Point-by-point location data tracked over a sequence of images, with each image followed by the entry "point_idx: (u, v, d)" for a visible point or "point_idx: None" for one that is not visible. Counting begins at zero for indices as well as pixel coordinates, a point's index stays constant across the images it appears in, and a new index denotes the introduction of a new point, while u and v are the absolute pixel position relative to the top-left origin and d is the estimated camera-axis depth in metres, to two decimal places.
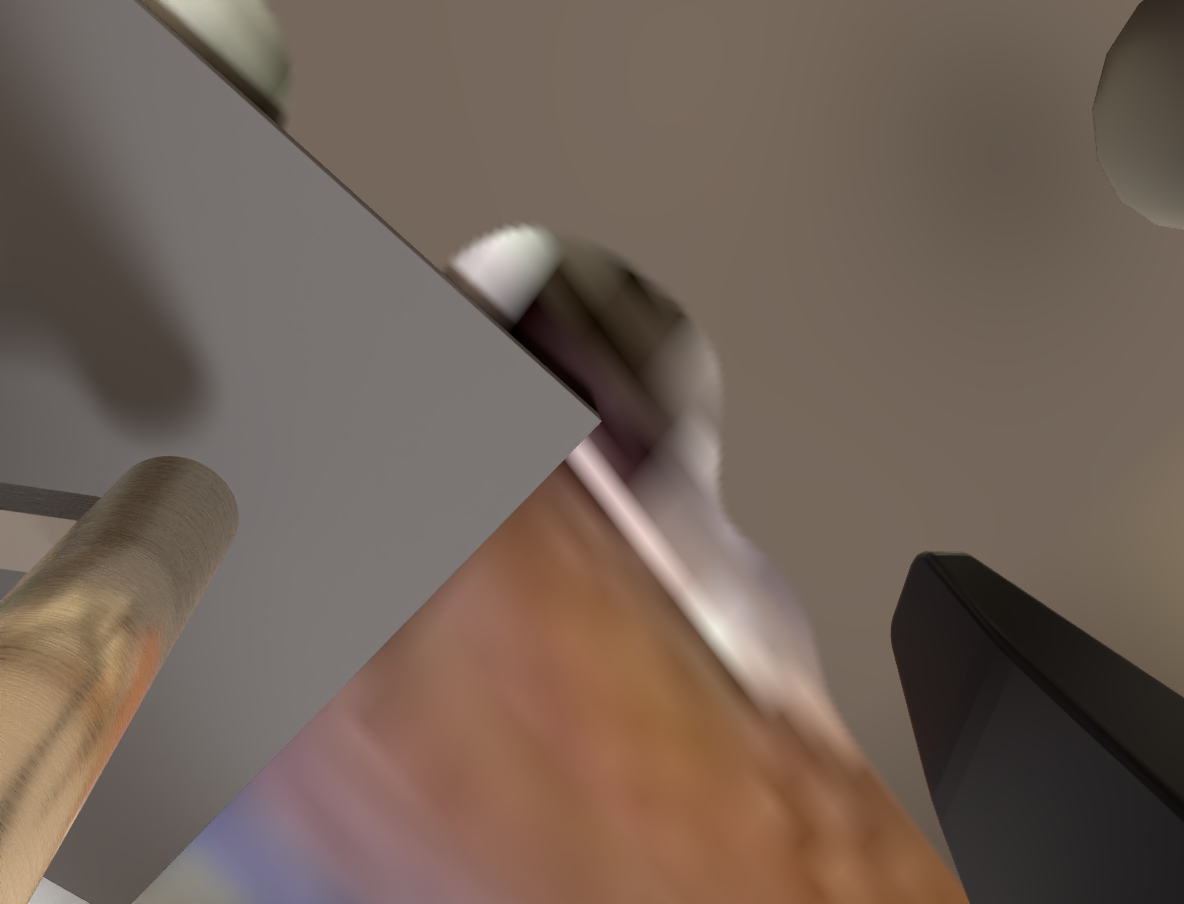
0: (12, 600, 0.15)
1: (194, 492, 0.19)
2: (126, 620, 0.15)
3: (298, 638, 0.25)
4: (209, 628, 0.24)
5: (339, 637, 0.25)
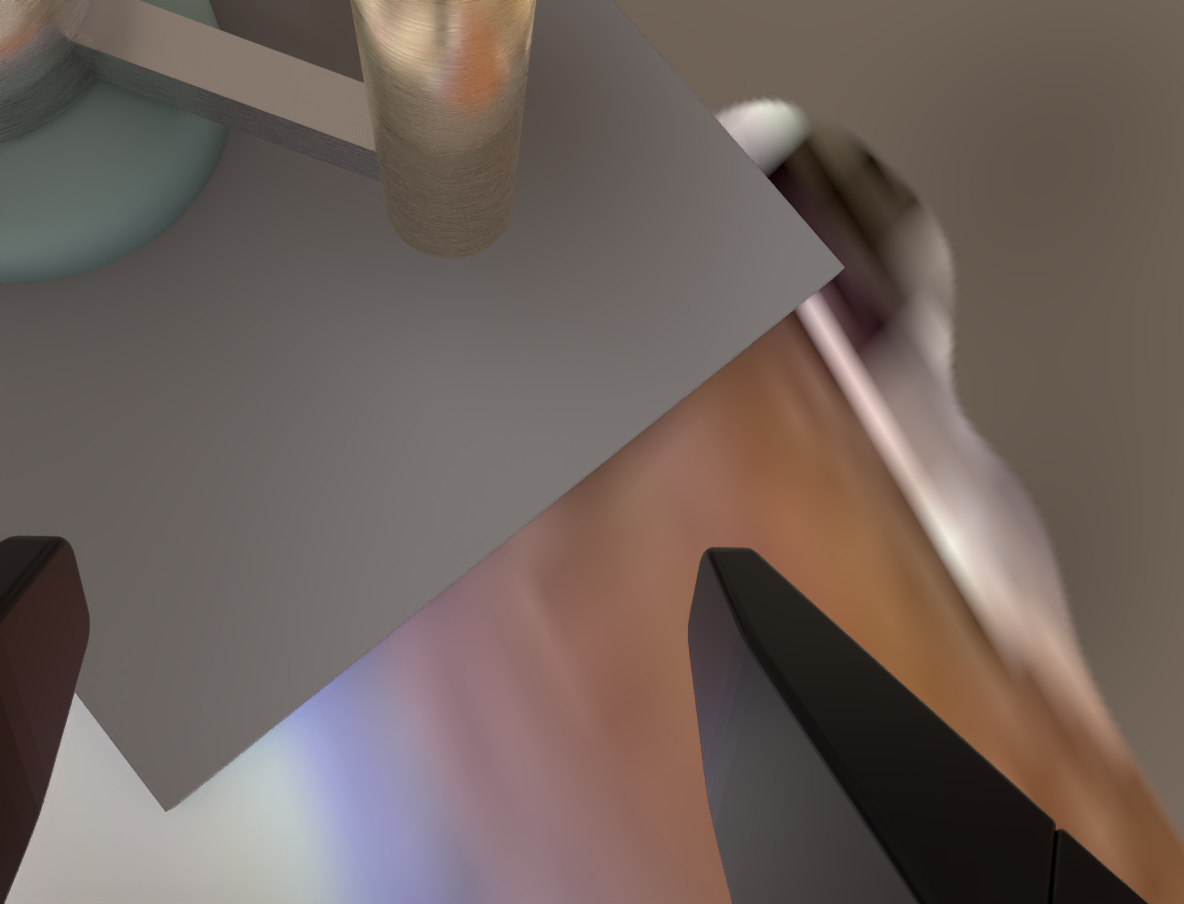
0: None
1: None
2: None
3: (501, 444, 0.22)
4: (408, 413, 0.22)
5: (545, 451, 0.22)
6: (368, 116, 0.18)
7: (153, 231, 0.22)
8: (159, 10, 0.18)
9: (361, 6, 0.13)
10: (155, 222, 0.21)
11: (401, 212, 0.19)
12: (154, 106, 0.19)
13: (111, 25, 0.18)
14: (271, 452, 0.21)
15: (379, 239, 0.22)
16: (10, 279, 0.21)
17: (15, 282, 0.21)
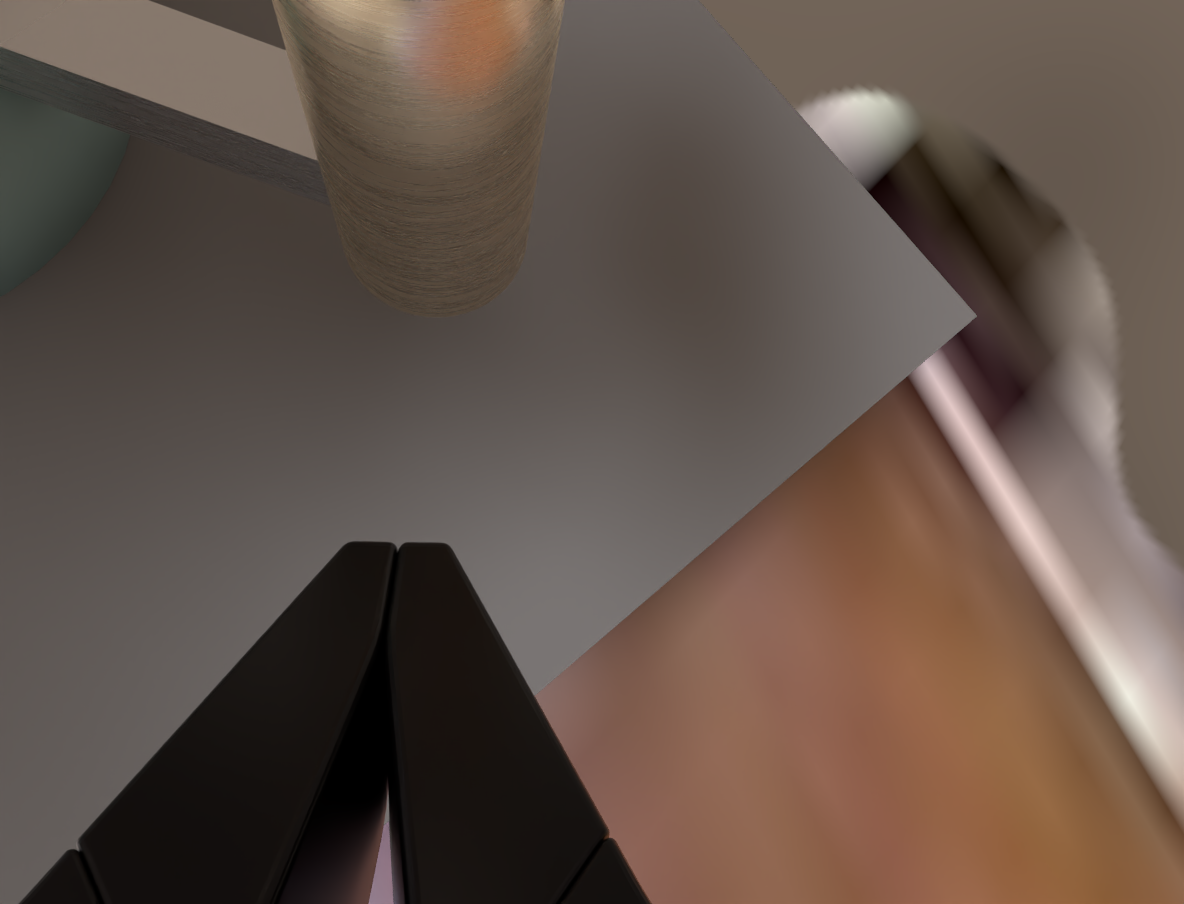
0: None
1: None
2: None
3: (510, 572, 0.15)
4: (379, 530, 0.15)
5: (573, 581, 0.16)
6: None
7: (17, 274, 0.15)
8: None
9: None
10: (17, 261, 0.15)
11: (361, 252, 0.12)
12: None
13: None
14: (182, 590, 0.15)
15: (339, 282, 0.16)
16: None
17: None
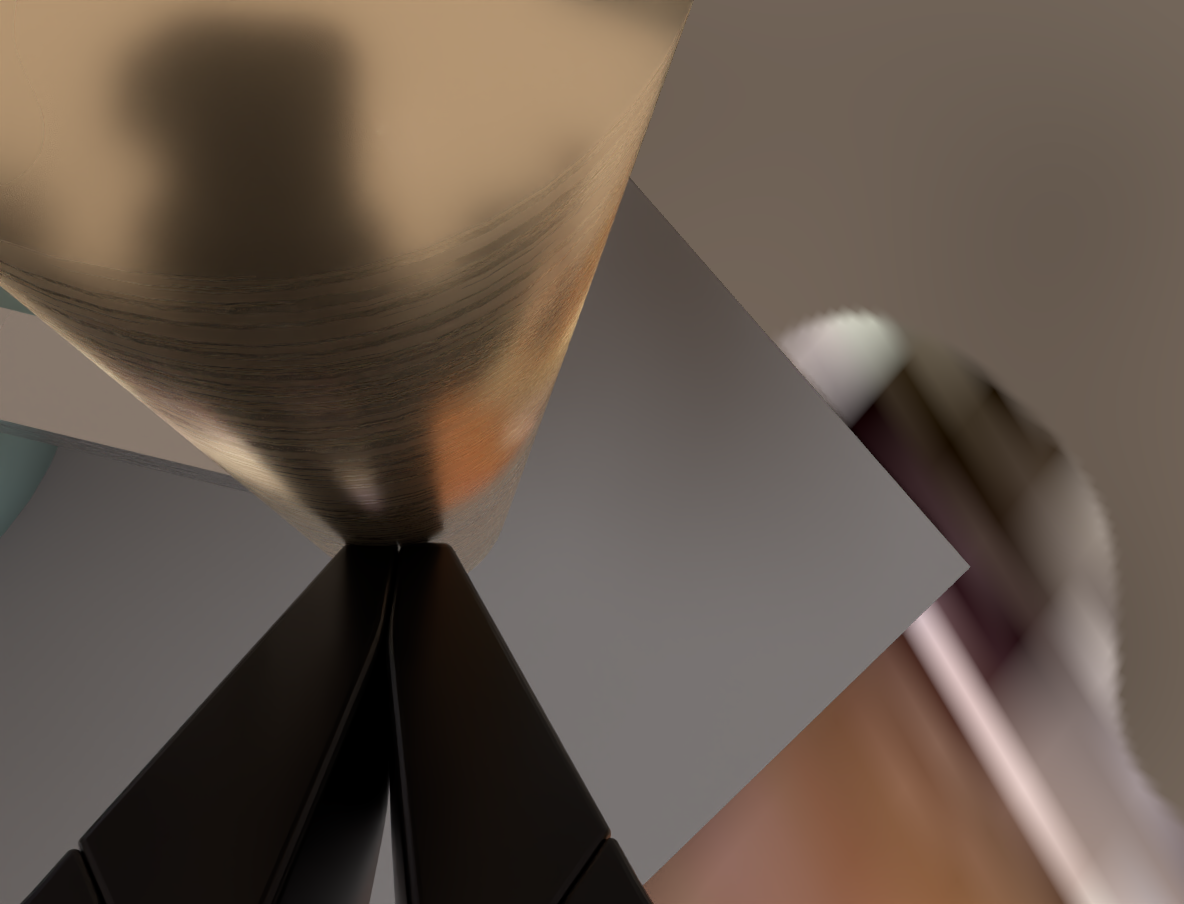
0: None
1: None
2: None
3: None
4: None
5: None
6: None
7: None
8: None
9: None
10: None
11: None
12: None
13: None
14: None
15: (296, 562, 0.15)
16: None
17: None
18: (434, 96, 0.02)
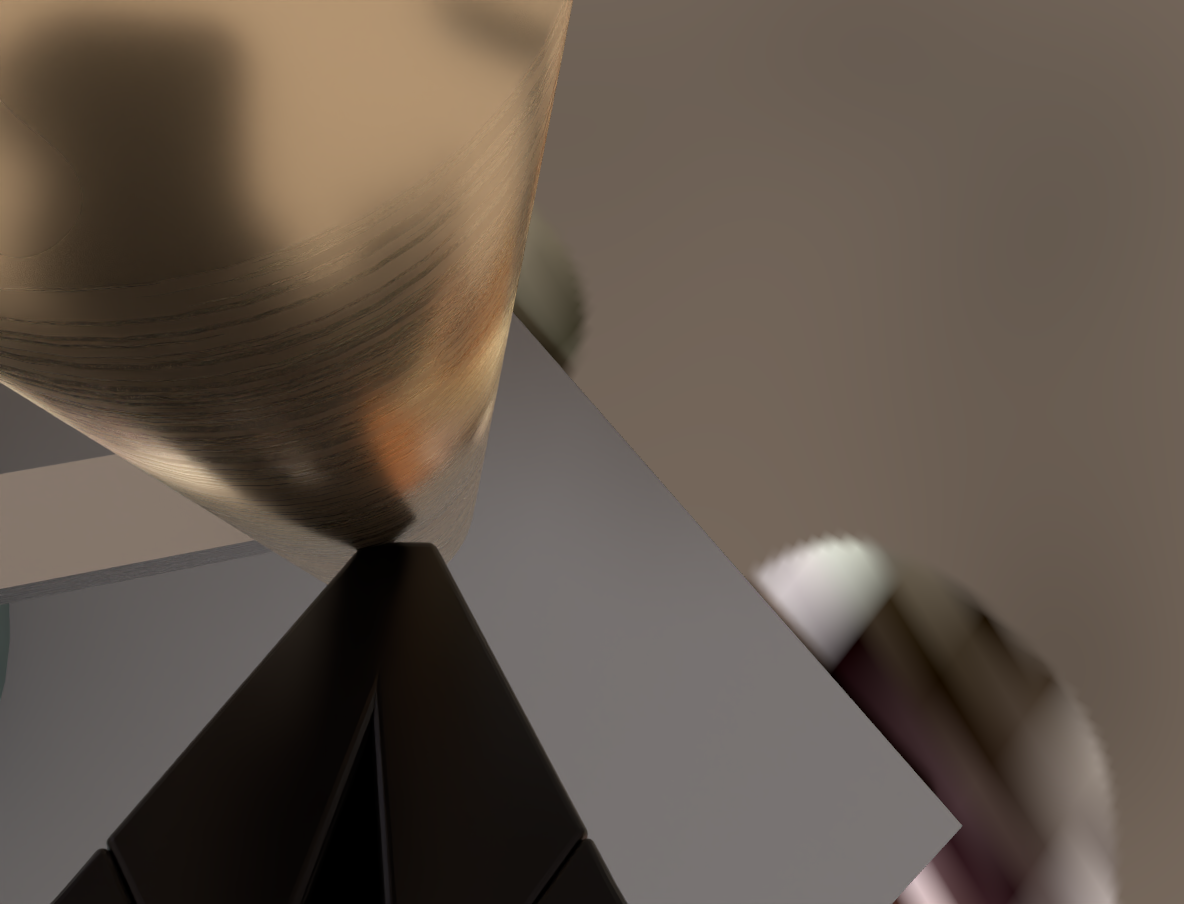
0: None
1: None
2: None
3: None
4: None
5: None
6: None
7: None
8: None
9: (200, 502, 0.06)
10: None
11: None
12: None
13: None
14: None
15: None
16: None
17: None
18: None
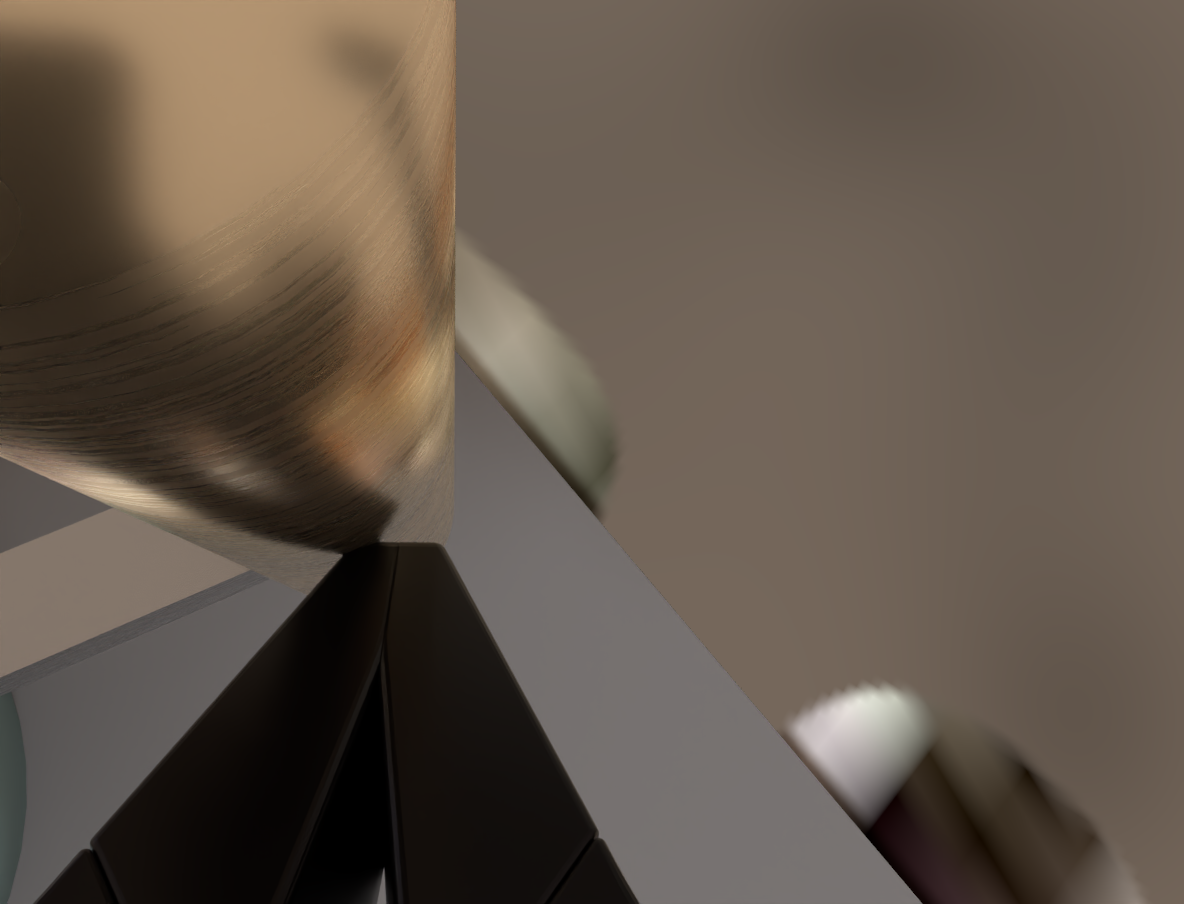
0: None
1: None
2: None
3: None
4: None
5: None
6: None
7: None
8: None
9: (188, 533, 0.06)
10: None
11: None
12: None
13: None
14: None
15: None
16: None
17: None
18: None
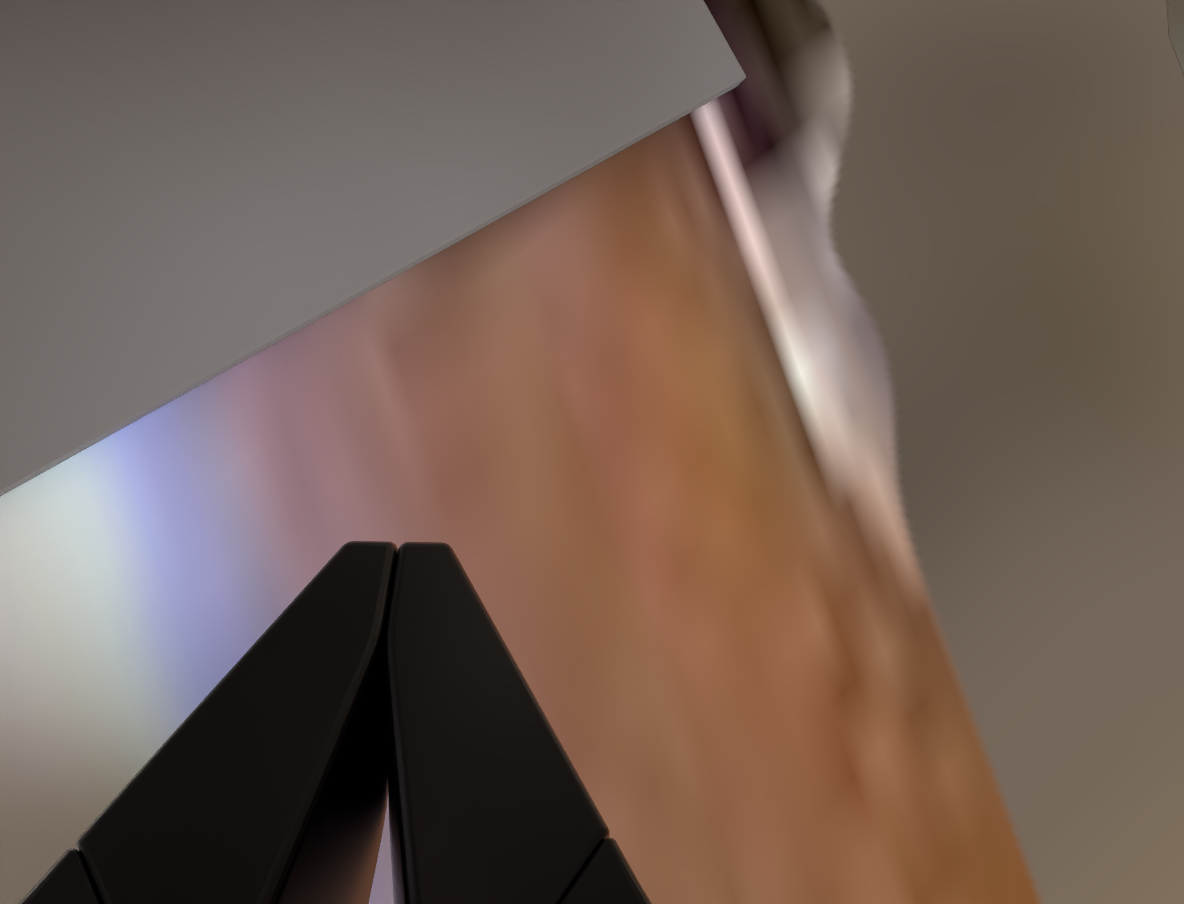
0: None
1: None
2: None
3: (366, 192, 0.21)
4: (270, 142, 0.20)
5: (413, 208, 0.21)
6: None
7: None
8: None
9: None
10: None
11: None
12: None
13: None
14: (112, 156, 0.19)
15: None
16: None
17: None
18: None
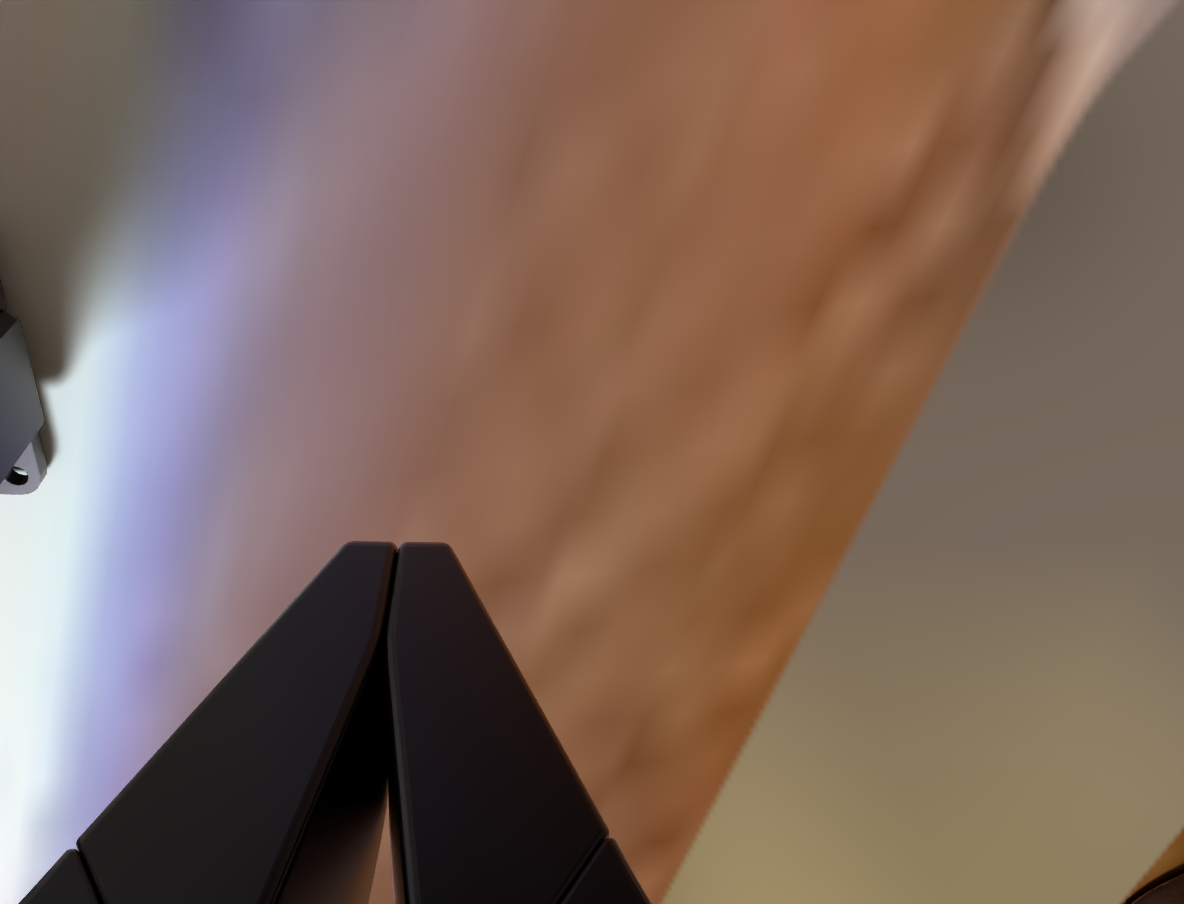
0: None
1: None
2: None
3: None
4: None
5: None
6: None
7: None
8: None
9: None
10: None
11: None
12: None
13: None
14: None
15: None
16: None
17: None
18: None
